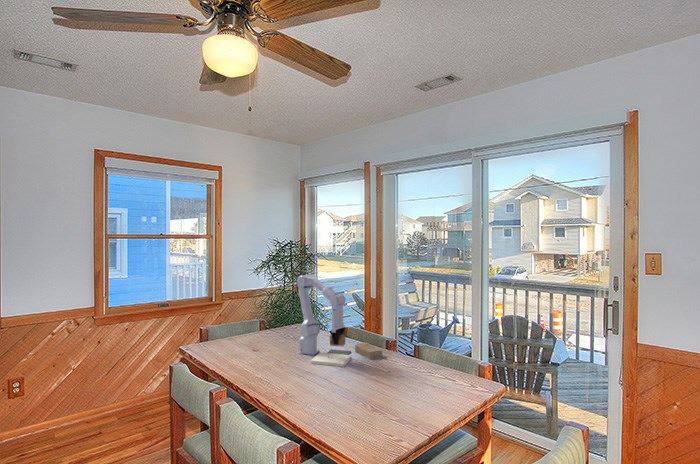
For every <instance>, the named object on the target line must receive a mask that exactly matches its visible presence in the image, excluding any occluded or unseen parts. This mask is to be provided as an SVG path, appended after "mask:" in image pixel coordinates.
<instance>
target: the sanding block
mask: <svg viewBox="0 0 700 464" xmlns="http://www.w3.org/2000/svg"><path fill="white" fill-rule="evenodd" d="M345 345H346V334H344V333H343V334H340V336H339V342H338V345H337V344H334V342H333V338H332V335H331V334H330V336H329V346H332V347H344V346H345Z"/></svg>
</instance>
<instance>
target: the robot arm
mask: <svg viewBox="0 0 700 464" xmlns="http://www.w3.org/2000/svg"><path fill="white" fill-rule="evenodd" d="M296 283H297V288H298V294H299V295H298V296H299V299H300V300H299V301H300V305H301V312H302V316H303V322H302V323H301V324H300V327H301V328H300V329H301V330H300V333H301V336H300V338H299V353H298V354H302V355H311V356H315V355H317V353H318V352H320V350H319V349H318V338H317V337H318V335H319V334H320V331H321V328H320V326H319V324H318V321H317V320H316V319H314V314H313V309H312V305H311V299H310V293H309V291H310V290H311V288H313V287H314V288H316V289H317V290H319V291H320V292H322V293H321V294H322V296H323V297H325V298H326V299H327V300H328V301H329V303H330V305H331V306H330V307H331V309H332V314H331V315H332V317H331V318H332V319H331V322H332V325H331V330H330V331H329V333H330V336H331V335H332V338H333V342H334V344H337V345H338V342H339V336H340V334H344V332H345V331H346V325H344V304H345V302H346V296H345V295H344V294H343V293H338V292H337V291H335V290H334V289H333V287H332V286H326V285H324V283H322V282H321V281H320V280H319V279H318V277H317V276H316V275H315V274H314V273H312V274H304V275H299V276H298V278H297V281H296Z"/></svg>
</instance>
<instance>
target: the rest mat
mask: <svg viewBox="0 0 700 464" xmlns="http://www.w3.org/2000/svg"><path fill="white" fill-rule="evenodd" d="M327 353H332V354H343V355H351V353H352V351H351V350H343V349H342V350H341V349H332V348H331V349H330V350H329V351H328V352H327Z"/></svg>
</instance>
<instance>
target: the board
mask: <svg viewBox="0 0 700 464" xmlns="http://www.w3.org/2000/svg"><path fill="white" fill-rule="evenodd" d="M351 359H352V355H351V354H349V355H343V354H332V353H328V352H321V351H319V353H318V354H316V356H315V355H314V357H313V358H312V359H311V360H310V364H313V365H324V366H333V367H345V366H346V365H347V364H348V363H349V361H350V360H351Z"/></svg>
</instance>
